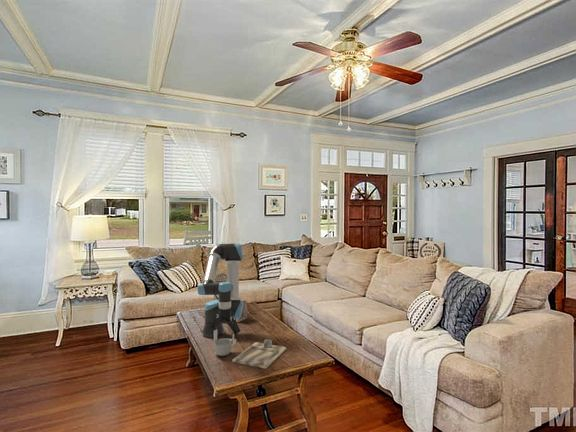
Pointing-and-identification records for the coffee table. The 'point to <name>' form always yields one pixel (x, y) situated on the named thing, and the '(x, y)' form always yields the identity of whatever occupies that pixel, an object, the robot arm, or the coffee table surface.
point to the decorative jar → (243, 311)
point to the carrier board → (260, 354)
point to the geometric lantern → (219, 280)
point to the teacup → (223, 346)
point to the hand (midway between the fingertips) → (224, 342)
